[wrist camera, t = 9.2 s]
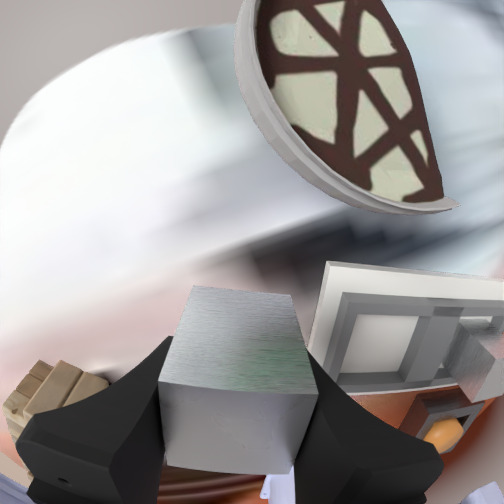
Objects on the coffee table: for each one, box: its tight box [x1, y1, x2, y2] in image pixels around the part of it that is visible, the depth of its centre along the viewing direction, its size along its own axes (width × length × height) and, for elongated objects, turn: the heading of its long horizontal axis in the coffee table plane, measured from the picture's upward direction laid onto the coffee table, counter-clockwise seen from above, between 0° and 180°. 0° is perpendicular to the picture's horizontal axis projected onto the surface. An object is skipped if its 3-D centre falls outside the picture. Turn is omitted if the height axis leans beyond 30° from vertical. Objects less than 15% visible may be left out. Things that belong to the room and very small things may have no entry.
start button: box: [423, 418, 464, 454], centre depth 24 cm, size 4×4×3 cm
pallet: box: [307, 261, 504, 395], centre depth 21 cm, size 11×19×2 cm, turn 84°
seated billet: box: [441, 319, 504, 403], centre depth 19 cm, size 4×4×6 cm
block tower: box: [2, 360, 109, 482], centre depth 24 cm, size 8×8×29 cm
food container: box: [233, 0, 461, 215], centre depth 12 cm, size 12×6×10 cm, turn 19°
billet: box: [158, 285, 319, 475], centre depth 11 cm, size 4×4×6 cm
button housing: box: [398, 388, 485, 454], centre depth 25 cm, size 8×8×3 cm
